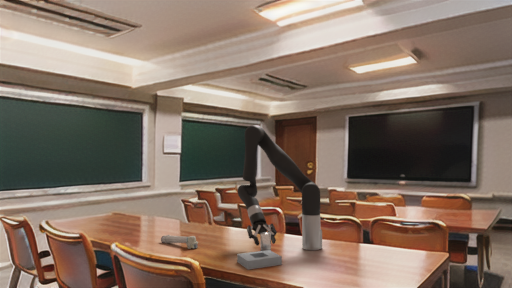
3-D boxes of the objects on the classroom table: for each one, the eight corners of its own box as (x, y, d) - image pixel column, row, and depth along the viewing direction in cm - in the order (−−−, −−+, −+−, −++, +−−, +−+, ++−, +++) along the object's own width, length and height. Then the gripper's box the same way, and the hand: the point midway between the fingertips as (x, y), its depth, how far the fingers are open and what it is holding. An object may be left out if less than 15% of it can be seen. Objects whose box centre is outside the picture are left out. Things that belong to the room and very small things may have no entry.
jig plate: (269, 257, 164) (269, 249, 164) (281, 264, 153) (281, 256, 153) (237, 261, 157) (237, 253, 157) (247, 269, 146) (247, 261, 146)
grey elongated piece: (167, 234, 198) (199, 233, 183) (168, 246, 197) (200, 246, 182) (159, 236, 193) (191, 235, 179) (160, 248, 193) (193, 249, 178)
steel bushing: (268, 252, 173) (267, 231, 173) (272, 254, 168) (272, 233, 169) (258, 253, 171) (258, 232, 171) (263, 256, 166) (263, 234, 167)
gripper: (245, 212, 175) (255, 240, 164) (271, 210, 181) (282, 238, 170) (241, 221, 179) (250, 249, 169) (266, 219, 185) (276, 246, 174)
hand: (266, 243), depth 169 cm, fingers open, 8 cm apart
